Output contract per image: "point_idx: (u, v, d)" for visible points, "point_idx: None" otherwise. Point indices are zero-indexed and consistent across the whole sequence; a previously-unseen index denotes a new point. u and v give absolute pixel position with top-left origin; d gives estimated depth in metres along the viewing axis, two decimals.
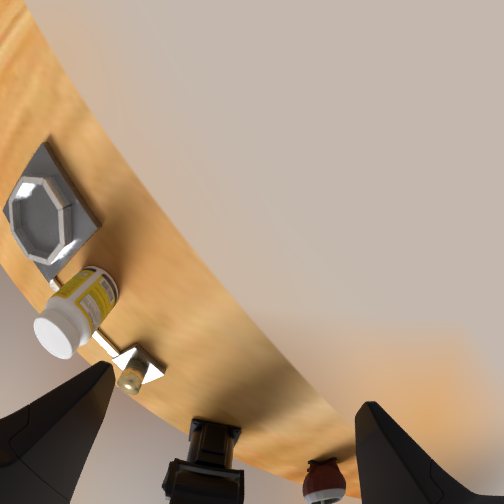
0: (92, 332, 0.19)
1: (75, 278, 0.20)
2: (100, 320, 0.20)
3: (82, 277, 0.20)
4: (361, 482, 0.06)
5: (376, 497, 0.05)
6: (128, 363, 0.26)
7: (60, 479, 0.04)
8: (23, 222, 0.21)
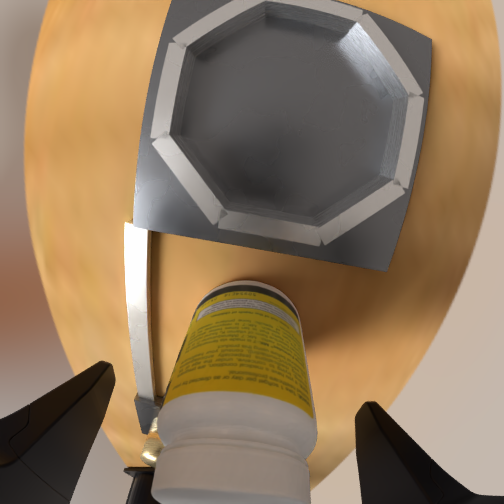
0: None
1: (285, 329, 0.09)
2: None
3: (297, 335, 0.09)
4: (361, 482, 0.06)
5: (376, 497, 0.05)
6: None
7: (60, 479, 0.04)
8: (217, 56, 0.08)
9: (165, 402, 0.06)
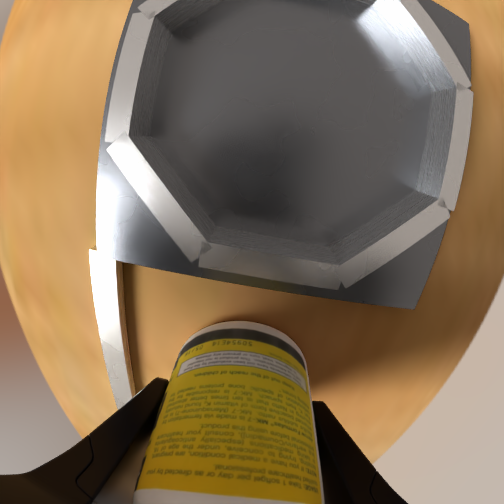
0: None
1: (289, 393, 0.06)
2: None
3: (304, 395, 0.07)
4: None
5: None
6: None
7: None
8: (199, 29, 0.05)
9: (139, 487, 0.04)
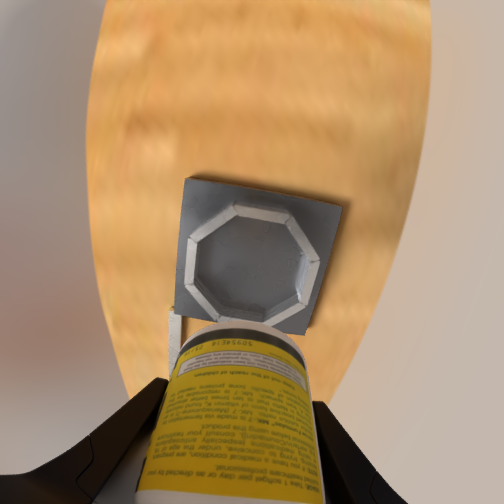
0: None
1: (289, 393, 0.06)
2: None
3: (304, 395, 0.07)
4: None
5: None
6: None
7: None
8: (212, 236, 0.18)
9: (139, 488, 0.04)
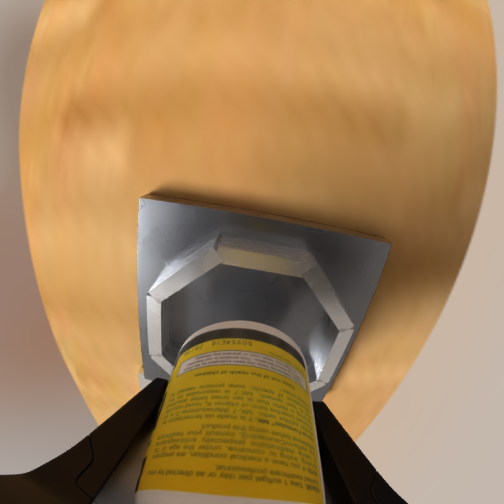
0: None
1: (289, 392, 0.06)
2: None
3: (304, 395, 0.07)
4: None
5: None
6: None
7: None
8: (187, 288, 0.11)
9: (139, 487, 0.04)
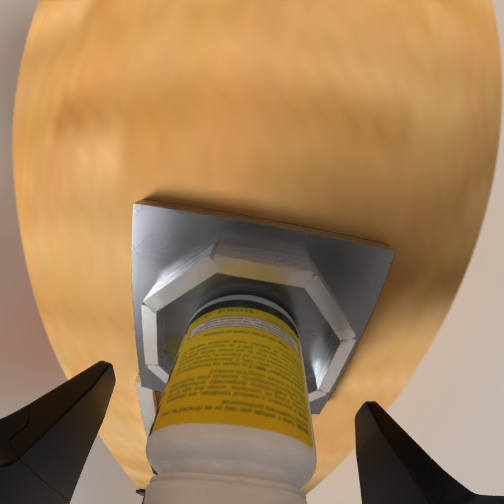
0: None
1: (283, 351, 0.08)
2: None
3: (296, 356, 0.09)
4: (361, 482, 0.06)
5: (376, 497, 0.05)
6: None
7: (60, 479, 0.04)
8: (183, 297, 0.11)
9: (154, 429, 0.06)
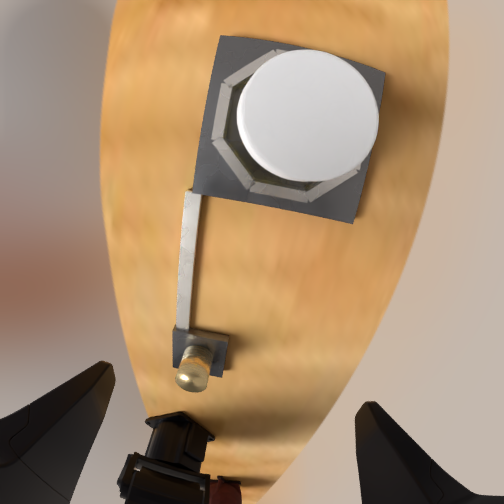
0: None
1: None
2: None
3: None
4: (361, 482, 0.06)
5: (376, 497, 0.05)
6: (199, 350, 0.21)
7: (60, 479, 0.04)
8: None
9: None
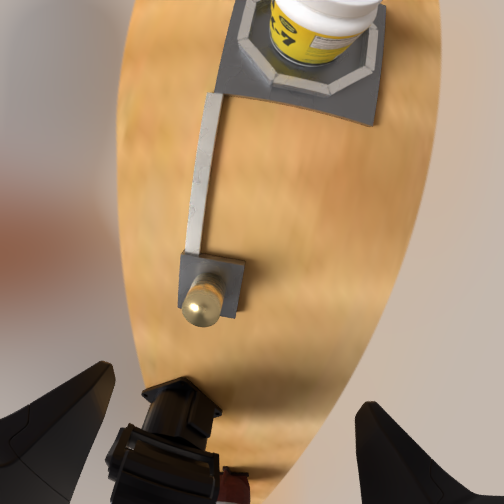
0: (345, 38, 0.09)
1: None
2: (340, 47, 0.10)
3: None
4: (361, 482, 0.06)
5: (376, 497, 0.05)
6: (211, 276, 0.19)
7: (60, 479, 0.04)
8: (268, 10, 0.12)
9: None
